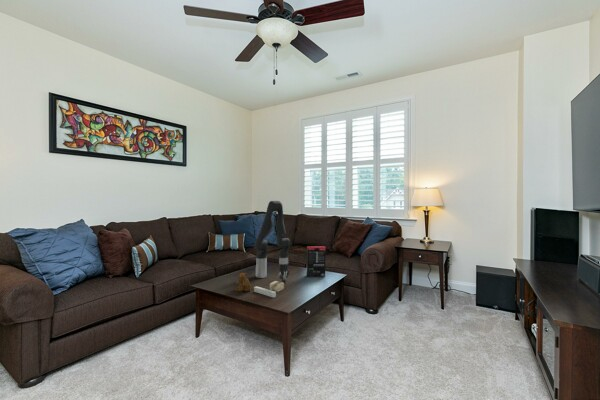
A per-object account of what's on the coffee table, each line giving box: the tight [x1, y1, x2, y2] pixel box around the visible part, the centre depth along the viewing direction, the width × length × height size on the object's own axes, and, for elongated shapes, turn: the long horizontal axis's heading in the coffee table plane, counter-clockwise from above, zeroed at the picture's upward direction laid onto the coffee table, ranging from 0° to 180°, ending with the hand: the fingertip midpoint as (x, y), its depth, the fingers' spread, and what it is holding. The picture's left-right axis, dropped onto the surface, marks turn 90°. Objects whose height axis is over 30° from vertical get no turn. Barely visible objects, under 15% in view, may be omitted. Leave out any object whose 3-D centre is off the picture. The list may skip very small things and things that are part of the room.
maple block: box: [269, 280, 285, 293], centre depth 220 cm, size 8×8×5 cm
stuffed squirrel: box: [235, 272, 252, 292], centre depth 218 cm, size 10×14×13 cm
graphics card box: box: [305, 245, 327, 278], centre depth 255 cm, size 17×7×27 cm, turn 96°
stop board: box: [253, 285, 277, 298], centre depth 210 cm, size 20×2×4 cm, turn 53°
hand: (283, 283), depth 227 cm, fingers closed
